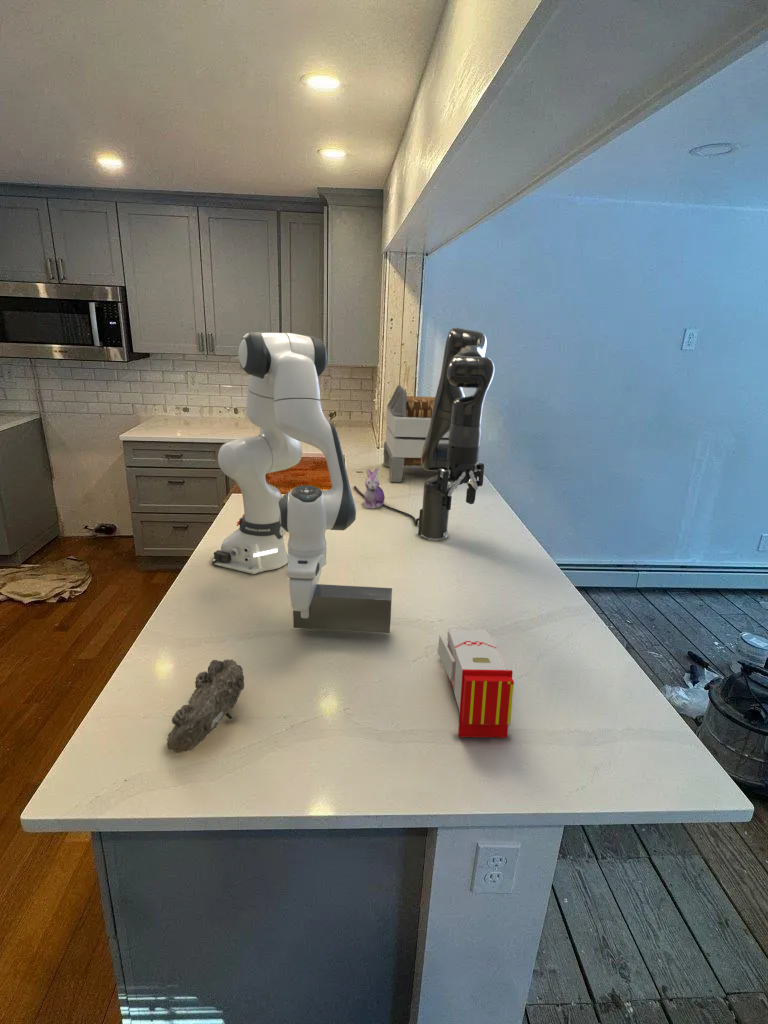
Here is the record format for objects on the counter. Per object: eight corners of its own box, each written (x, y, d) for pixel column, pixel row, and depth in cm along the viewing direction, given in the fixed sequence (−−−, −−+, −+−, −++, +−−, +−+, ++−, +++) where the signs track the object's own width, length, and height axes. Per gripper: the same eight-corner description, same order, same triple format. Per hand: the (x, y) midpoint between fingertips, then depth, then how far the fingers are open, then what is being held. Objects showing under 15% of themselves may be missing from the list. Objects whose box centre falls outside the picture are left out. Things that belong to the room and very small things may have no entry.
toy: (488, 613, 130) (523, 677, 101) (484, 667, 133) (517, 744, 104) (435, 612, 130) (455, 676, 101) (432, 666, 133) (451, 743, 103)
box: (390, 620, 139) (392, 588, 136) (389, 633, 133) (391, 600, 130) (298, 615, 140) (297, 583, 137) (293, 628, 134) (292, 594, 131)
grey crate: (382, 463, 289) (386, 382, 275) (445, 464, 293) (451, 384, 279) (390, 482, 257) (394, 392, 243) (460, 483, 261) (468, 394, 247)
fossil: (192, 660, 117) (244, 628, 112) (224, 691, 120) (276, 661, 115) (142, 746, 98) (202, 712, 93) (182, 779, 101) (242, 748, 96)
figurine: (368, 510, 221) (370, 473, 216) (357, 502, 229) (358, 466, 224) (390, 507, 225) (391, 471, 220) (378, 500, 233) (379, 464, 228)
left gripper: (301, 538, 141) (302, 588, 146) (284, 574, 122) (286, 630, 126) (327, 539, 141) (327, 589, 145) (313, 575, 121) (314, 632, 126)
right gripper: (472, 436, 143) (466, 497, 148) (431, 442, 134) (427, 507, 139) (495, 442, 137) (488, 505, 143) (454, 449, 129) (449, 516, 134)
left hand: (307, 609), depth 136 cm, fingers closed on box, 6 cm apart
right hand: (458, 506), depth 141 cm, fingers open, 8 cm apart
